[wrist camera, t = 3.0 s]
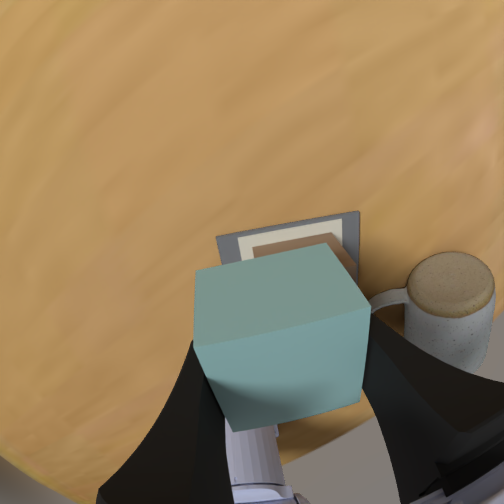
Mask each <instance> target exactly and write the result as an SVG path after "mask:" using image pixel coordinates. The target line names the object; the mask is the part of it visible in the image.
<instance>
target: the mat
mask: <svg viewBox="0 0 504 504" xmlns="http://www.w3.org/2000/svg"><path fill="white" fill-rule="evenodd" d="M329 232H331V233H332V234H333V235H334V236H335V238H336V239H337V240H338V241H339V243H340V244H341V245H342V247H343V248H344V249H345V250H346V252H347V253H348V254H349V256H350V257H351V258H352V260H353V261H354V262H355V264H356V265H357V266H356V285H358V263H359V211H353V212H347V213H341V214H335V215H330V216H324V217H318V218H313V219H307V220H301V221H296V222H290V223H285V224H279V225H274V226H268V227H263V228H258V229H252V230H247V231H242V232H236V233H231V234H226V235H221V236H216V240H217V245H218V249H219V254H220V258H221V262H222V265H225V264H230V263H234V262H239V261H244V260H248V259H253V258H254V256H253V250H252V247H255V246H260V245H266V244H271V243H276V242H281V241H287V240H292V239H297V238H303V237H308V236H313V235H319V234H324V233H329Z"/></svg>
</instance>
